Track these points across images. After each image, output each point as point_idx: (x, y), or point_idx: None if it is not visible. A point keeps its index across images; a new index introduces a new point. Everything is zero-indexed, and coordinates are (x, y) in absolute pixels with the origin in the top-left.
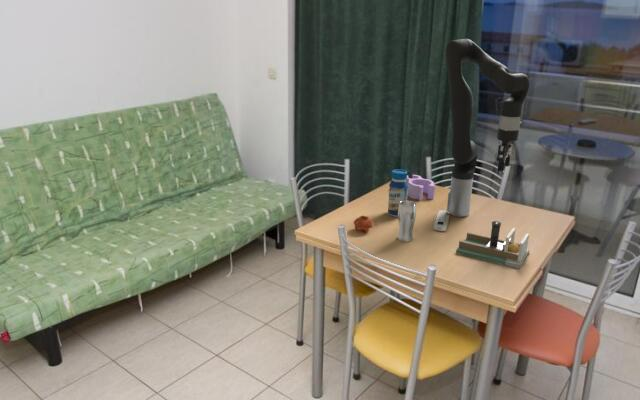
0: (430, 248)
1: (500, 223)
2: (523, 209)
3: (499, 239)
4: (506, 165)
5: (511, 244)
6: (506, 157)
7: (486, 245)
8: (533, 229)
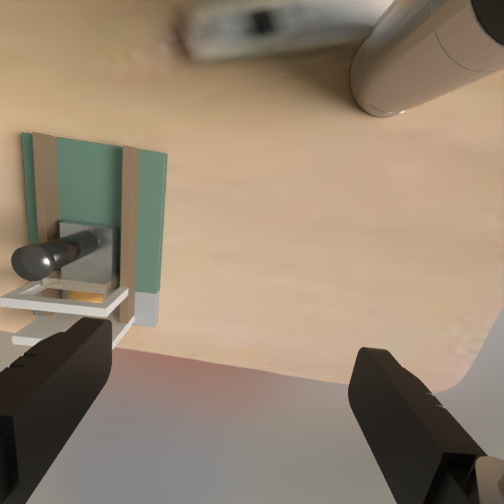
0: (14, 39)
1: (33, 279)
2: (486, 282)
3: (126, 255)
4: (354, 382)
5: (73, 297)
6: (421, 478)
7: (109, 217)
8: (325, 319)
